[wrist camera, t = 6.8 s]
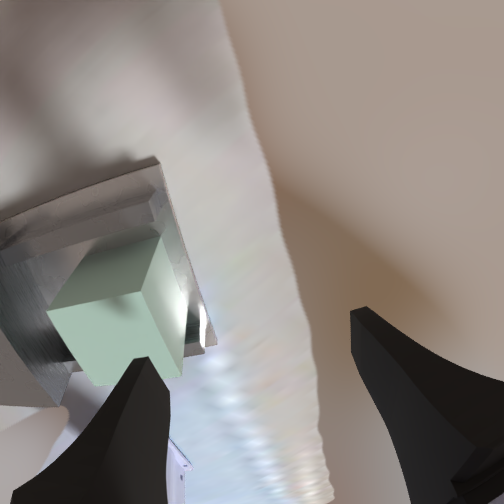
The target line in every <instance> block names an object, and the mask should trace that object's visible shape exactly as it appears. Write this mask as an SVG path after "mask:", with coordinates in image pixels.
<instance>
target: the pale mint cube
mask: <svg viewBox="0 0 504 504" xmlns="http://www.w3.org/2000/svg"><path fill="white" fill-rule="evenodd" d="M187 312H188V309H187V306H186V304H185V301H184V299H183V296H182V293H181V291H180V288H179V285H178V283H177V280H176V277H175V275H174V272H173V269H172V266H171V263H170V261H169V258H168V255H167V252H166V249H165V246H164V244H163V241H162V238H161V236H159V237H155V238H151V239H148V240H144V241H140V242H136V243H132V244H129V245H125V246H121V247H117V248H114V249H110V250H106V251H103V252H99V253H95V254H92V255H88V256H85V257H83V259H82V260H81V261H80V263H79V264H78V266H77V267H76V268H75V270H74V271H73V272H72V274H71V275H70V277H69V278H68V279H67V281H66V282H65V284H64V285H63V287H62V288H61V290H60V291H59V292H58V294H57V295H56V297H55V298H54V300H53V301H52V303H51V304H50V306H49V307H48V309H47V310H46V313H47V314H48V316H49V318H50V319H51V321H52V323H53V325H54V326H55V328H56V330H57V331H58V333H59V334H60V336H61V338H62V339H63V341H64V342H65V344H66V346H67V347H68V349H69V350H70V352H71V353H72V355H73V356H74V358H75V359H76V361H77V362H78V364H79V365H80V366H81V368H82V369H83V371H84V372H85V374H86V375H87V376H88V378H89V379H90V381H91V382H92V383H93V385H94V386H106V385H116V384H117V383H118V381H119V380H120V378H121V377H122V375H123V374H124V372H125V370H126V369H127V367H128V366H129V364H130V363H131V362H132V360H133V359H134V358H141V357H147V356H149V358H150V360H151V362H152V363H153V365H154V367H155V368H156V370H157V372H158V373H159V375H160V377H161V378H162V379H166V378H173V377H180V376H182V367H183V355H184V343H185V332H186V322H187Z"/></svg>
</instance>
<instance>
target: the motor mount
mask: <svg viewBox="0 0 504 504" xmlns="http://www.w3.org/2000/svg"><path fill="white" fill-rule="evenodd" d="M159 236H161V238H162V241H163V244H164V246H165V249H166V252H167V255H168V258H169V261H170V263H171V266H172V269H173V272H174V275H175V277H176V280H177V283H178V285H179V288H180V291H181V293H182V296H183V299H184V301H185V304H186V306H187V309H188V312H187V322H186V332H185V343H184V355H183V358H184V357H189V356H195V355H200V354H205V347H209V346H214V345H218V343H217V337H216V335H215V332H214V329H213V326H212V324H211V321H210V318H209V315H208V313H207V310H206V307H205V304H204V301H203V298H202V296H201V293H200V290H199V287H198V284H197V281H196V278H195V275H194V272H193V269H192V266H191V263H190V260H189V257H188V254H187V251H186V248H185V245H184V241H183V238H182V235H181V232H180V229H179V226H178V222H177V219H176V216H175V212H174V209H173V206H172V203H171V199H170V196H169V192H168V189H167V186H166V182H165V179H164V175H163V172H162V168H161V164H160V163H159V164H156V165H153V166H149V167H146V168H143V169H139V170H136V171H133V172H130V173H126V174H123V175H120V176H117V177H114V178H111V179H108V180H105V181H102V182H99V183H96V184H94V185H91V186H88V187H85V188H82V189H80V190H77V191H74V192H72V193H69V194H66V195H64V196H61V197H58V198H56V199H53V200H51V201H48V202H46V203H43V204H41V205H38V206H36V207H34V208H31V209H29V210H27V211H24V212H22V213H20V214H17V215H15V216H13V217H11V218H8V219H6V220H4V221H2V222H0V405H6V406H25V407H59V406H60V403H61V400H62V397H63V395H64V392H65V389H66V387H67V384H68V382H69V379H70V376H71V374H72V372H79V371H83V369H82V368H81V366H80V365H79V364H78V362H77V361H76V359H75V358H74V356H73V355H72V353H71V352H70V350H69V349H68V347H67V346H66V344H65V342H64V341H63V339H62V338H61V336H60V334H59V333H58V331H57V330H56V328H55V326H54V325H53V323H52V321H51V319H50V318H49V316H48V314H47V313H46V310H47V309H48V307H49V306H50V304H51V303H52V301H53V300H54V298H55V297H56V295H57V294H58V292H59V291H60V290H61V288H62V287H63V285H64V284H65V282H66V281H67V279H68V278H69V277H70V275H71V274H72V272H73V271H74V270H75V268H76V267H77V266H78V264H79V263H80V261H81V260H82V259H83V257H85V256H88V255H92V254H95V253H99V252H103V251H106V250H110V249H114V248H117V247H121V246H125V245H129V244H132V243H136V242H140V241H144V240H148V239H151V238H155V237H159Z"/></svg>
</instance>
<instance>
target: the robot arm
mask: <svg viewBox="0 0 504 504" xmlns="http://www.w3.org/2000/svg"><path fill="white" fill-rule="evenodd" d="M350 322H351V353H352V356H353V358H354V361H355V364H356V366H357V369H358V371H359V374H360V376H361V378H362V380H363V382H364V384H365V386H366V388H367V389H368V391H369V393H370V395H371V397H372V399H373V401H374V403H375V405H376V407H377V409H378V410H379V412H380V414H381V416H382V418H383V420H384V422H385V424H386V426H387V429H388V431H389V434H390V436H391V439H392V442H393V445H394V447H395V450H396V453H397V456H398V459H399V462H400V465H401V468H402V472H403V475H404V479H405V482H406V486H407V489H408V493H409V497H410V501H411V504H504V382H503V381H500V380H496V379H493V378H490V377H486V376H483V375H480V374H478V373H475V372H473V371H470V370H468V369H465V368H463V367H461V366H458V365H456V364H454V363H452V362H450V361H448V360H446V359H444V358H442V357H440V356H438V355H437V354H435V353H433V352H431V351H430V350H428V349H426V348H425V347H423V346H421V345H420V344H418V343H417V342H415V341H414V340H412V339H411V338H409V337H408V336H406V335H405V334H404V333H402V332H401V331H399V330H398V329H396V328H395V327H393V326H392V325H391V324H390V323H388V322H387V321H386V320H384V319H383V318H382V317H380V316H379V315H378V314H376V313H375V312H374V311H372V310H371V309H370V308H368V307H367V306H366V307H362V308H359V309H355V310H352V311H350ZM170 416H171V415H170V391H169V390H168V388H167V387H166V385H165V383H164V382H163V380H162V378H161V377H160V375H159V373H158V372H157V370H156V368H155V367H154V365H153V363H152V362H151V360H150V358H149V356H147V357H141V358H134V359H133V360H132V362H131V363H130V364H129V366H128V367H127V369H126V370H125V372H124V374H123V375H122V377H121V378H120V380H119V381H118V383H117V384H116V386H115V387H114V389H113V390H112V392H111V393H110V395H109V396H108V398H107V400H106V401H105V402H104V404H103V405H102V407H101V408H100V409H99V411H98V412H97V414H96V415H95V416H94V418H93V419H92V420H91V422H90V423H89V424H88V426H87V427H86V428H85V429H84V431H83V432H82V433H81V434H80V435H79V436H78V438H77V439H76V440H75V441H74V442H73V443H72V444H71V445H70V446H69V447H68V448H67V449H66V450H65V451H64V452H63V453H62V454H61V455H60V456H59V457H58V458H57V459H56V460H55V461H54V462H53V463H52V464H50V465H49V466H48V467H47V468H46V469H44V470H43V471H42V472H41V473H39V474H38V475H37V476H35V477H34V478H33V479H31V480H30V481H28V482H26V483H25V484H23V485H22V486H21V487H19V488H17V489H15V490H14V491H13V494H12V498H11V502H10V504H185V471H192V470H193V466H192V465H191V464H190V463H189V461H188V460H187V459H186V458H185V457H184V456H183V455H182V453H181V452H180V451H179V450H178V449H177V447H176V446H175V445H174V444H173V443H172V441H171V440H170V439H169V428H170Z"/></svg>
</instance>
